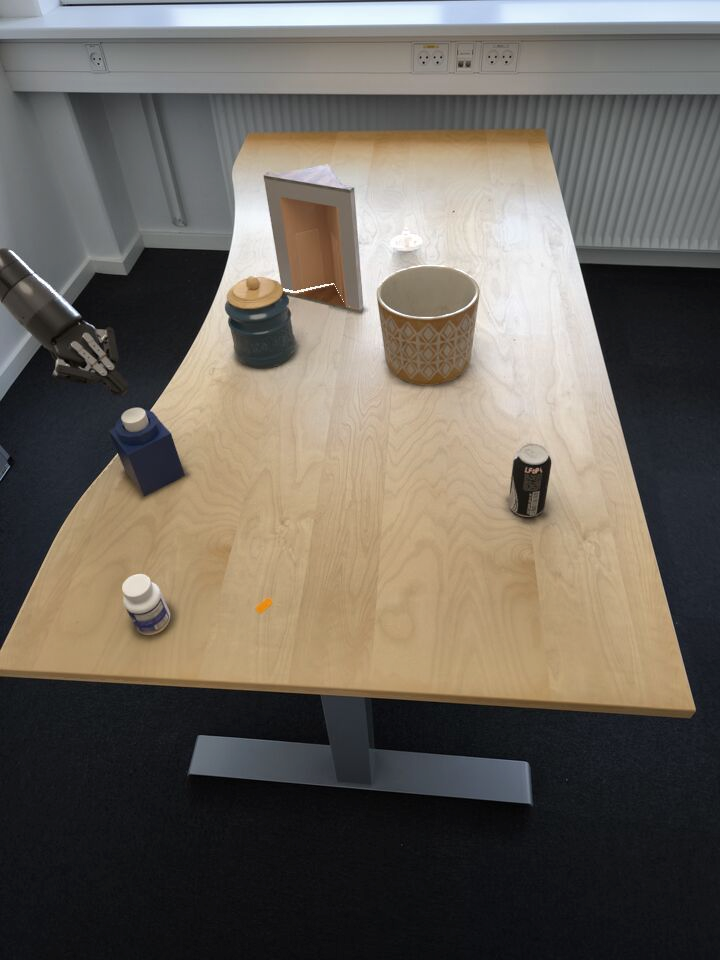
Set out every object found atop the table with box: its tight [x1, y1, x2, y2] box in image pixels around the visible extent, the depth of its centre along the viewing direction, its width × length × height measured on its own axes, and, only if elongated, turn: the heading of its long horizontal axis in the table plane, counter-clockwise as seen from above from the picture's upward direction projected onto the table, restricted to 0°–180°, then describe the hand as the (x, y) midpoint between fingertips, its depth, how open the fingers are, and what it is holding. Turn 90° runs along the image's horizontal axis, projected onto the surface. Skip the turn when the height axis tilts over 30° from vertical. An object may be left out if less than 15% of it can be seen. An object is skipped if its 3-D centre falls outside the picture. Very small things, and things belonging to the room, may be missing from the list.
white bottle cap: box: [120, 407, 149, 432], centre depth 122 cm, size 4×4×2 cm
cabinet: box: [263, 163, 364, 314], centre depth 161 cm, size 21×10×28 cm, turn 61°
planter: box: [376, 264, 481, 386], centre depth 143 cm, size 19×19×16 cm
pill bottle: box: [121, 573, 171, 636], centre depth 105 cm, size 5×5×9 cm
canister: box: [224, 275, 296, 369], centre depth 150 cm, size 13×13×18 cm
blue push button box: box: [108, 409, 186, 497], centre depth 127 cm, size 8×8×12 cm
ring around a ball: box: [389, 227, 423, 253], centre depth 182 cm, size 8×6×8 cm
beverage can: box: [508, 442, 552, 518], centre depth 115 cm, size 6×6×12 cm
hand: (124, 392), depth 118 cm, fingers closed
